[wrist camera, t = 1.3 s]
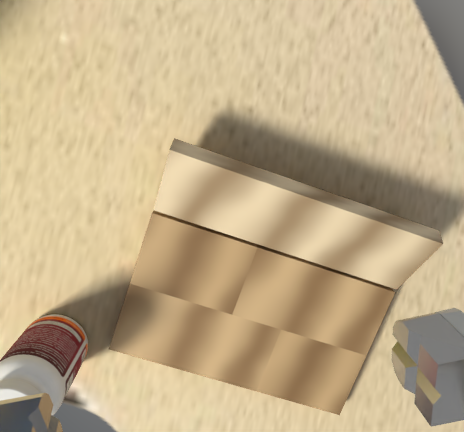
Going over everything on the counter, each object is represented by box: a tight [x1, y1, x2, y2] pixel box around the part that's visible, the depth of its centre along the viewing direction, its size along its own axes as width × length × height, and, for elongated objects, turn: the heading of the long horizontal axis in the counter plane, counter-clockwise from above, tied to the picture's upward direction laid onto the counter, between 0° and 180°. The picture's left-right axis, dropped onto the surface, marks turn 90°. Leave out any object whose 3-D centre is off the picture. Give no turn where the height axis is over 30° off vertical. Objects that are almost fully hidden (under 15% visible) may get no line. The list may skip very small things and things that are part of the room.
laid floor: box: [109, 211, 395, 415], centre depth 43 cm, size 24×14×2 cm, turn 71°
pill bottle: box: [0, 314, 88, 416], centre depth 38 cm, size 6×6×11 cm
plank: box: [153, 138, 443, 290], centre depth 39 cm, size 24×7×2 cm
